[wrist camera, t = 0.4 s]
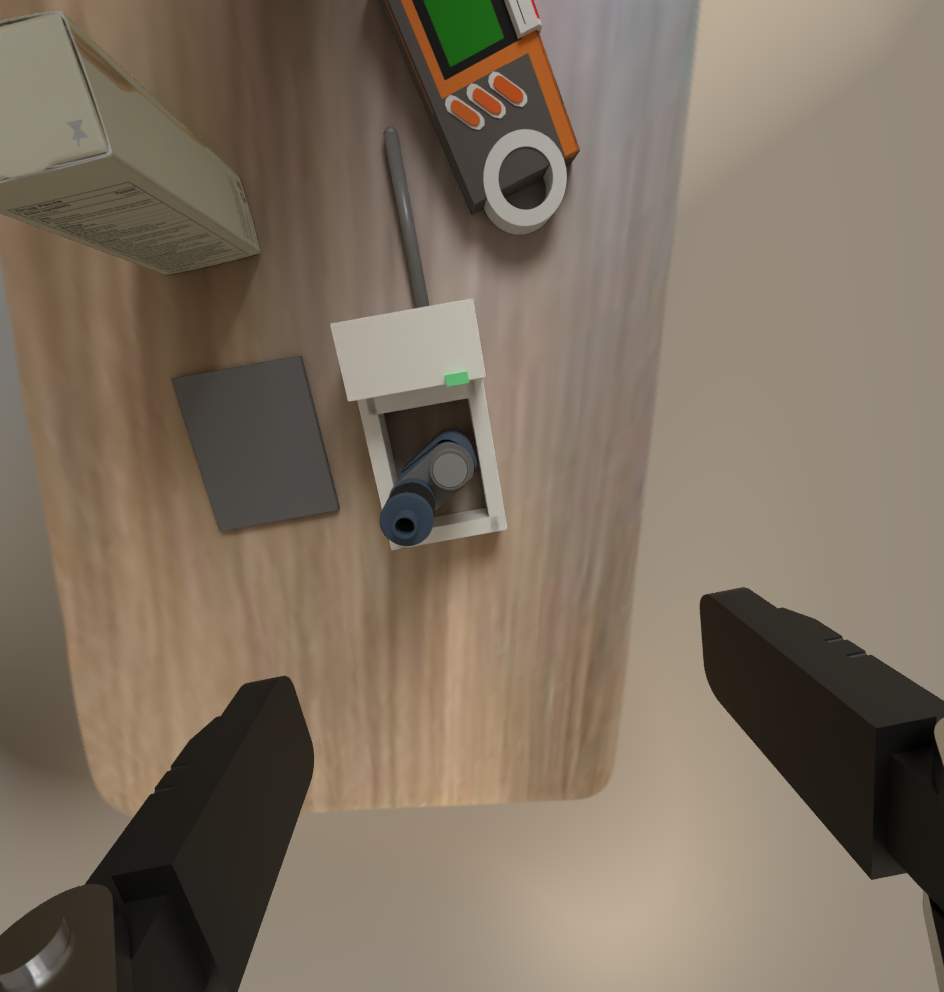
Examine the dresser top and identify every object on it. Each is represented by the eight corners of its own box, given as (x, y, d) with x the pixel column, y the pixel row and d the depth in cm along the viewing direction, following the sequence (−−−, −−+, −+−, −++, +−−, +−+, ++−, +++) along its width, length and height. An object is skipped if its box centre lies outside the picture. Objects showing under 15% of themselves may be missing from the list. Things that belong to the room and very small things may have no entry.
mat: (174, 379, 29) (171, 378, 28) (301, 356, 29) (299, 355, 28) (222, 529, 31) (219, 531, 31) (339, 508, 31) (338, 510, 31)
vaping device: (394, 473, 31) (360, 524, 19) (452, 419, 30) (455, 440, 18) (420, 501, 31) (404, 567, 20) (478, 449, 31) (497, 487, 19)
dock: (307, 145, 26) (272, 84, 21) (437, 123, 26) (434, 56, 21) (395, 538, 32) (385, 567, 26) (502, 518, 32) (513, 544, 27)
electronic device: (493, 246, 26) (359, -72, 22) (487, 257, 29) (368, -22, 25) (602, 189, 26) (487, -145, 21) (585, 206, 28) (481, -86, 24)
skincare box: (241, 174, 26) (70, -2, 14) (264, 256, 27) (122, 154, 16) (131, 197, 26) (-130, 41, 14) (158, 278, 27) (-65, 194, 16)
